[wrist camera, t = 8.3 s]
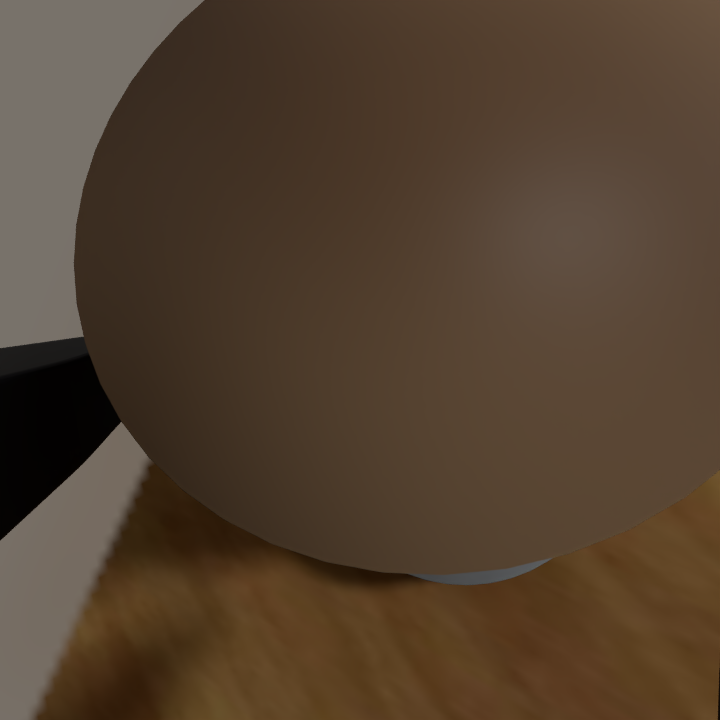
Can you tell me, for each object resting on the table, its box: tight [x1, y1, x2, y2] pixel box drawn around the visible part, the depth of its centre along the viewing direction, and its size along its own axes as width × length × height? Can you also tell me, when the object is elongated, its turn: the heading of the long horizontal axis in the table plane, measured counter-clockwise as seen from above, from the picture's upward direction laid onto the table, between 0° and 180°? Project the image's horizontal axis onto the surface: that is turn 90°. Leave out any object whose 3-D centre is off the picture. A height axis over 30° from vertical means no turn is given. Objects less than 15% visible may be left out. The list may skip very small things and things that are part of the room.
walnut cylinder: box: [74, 0, 720, 575], centre depth 10 cm, size 6×6×12 cm
